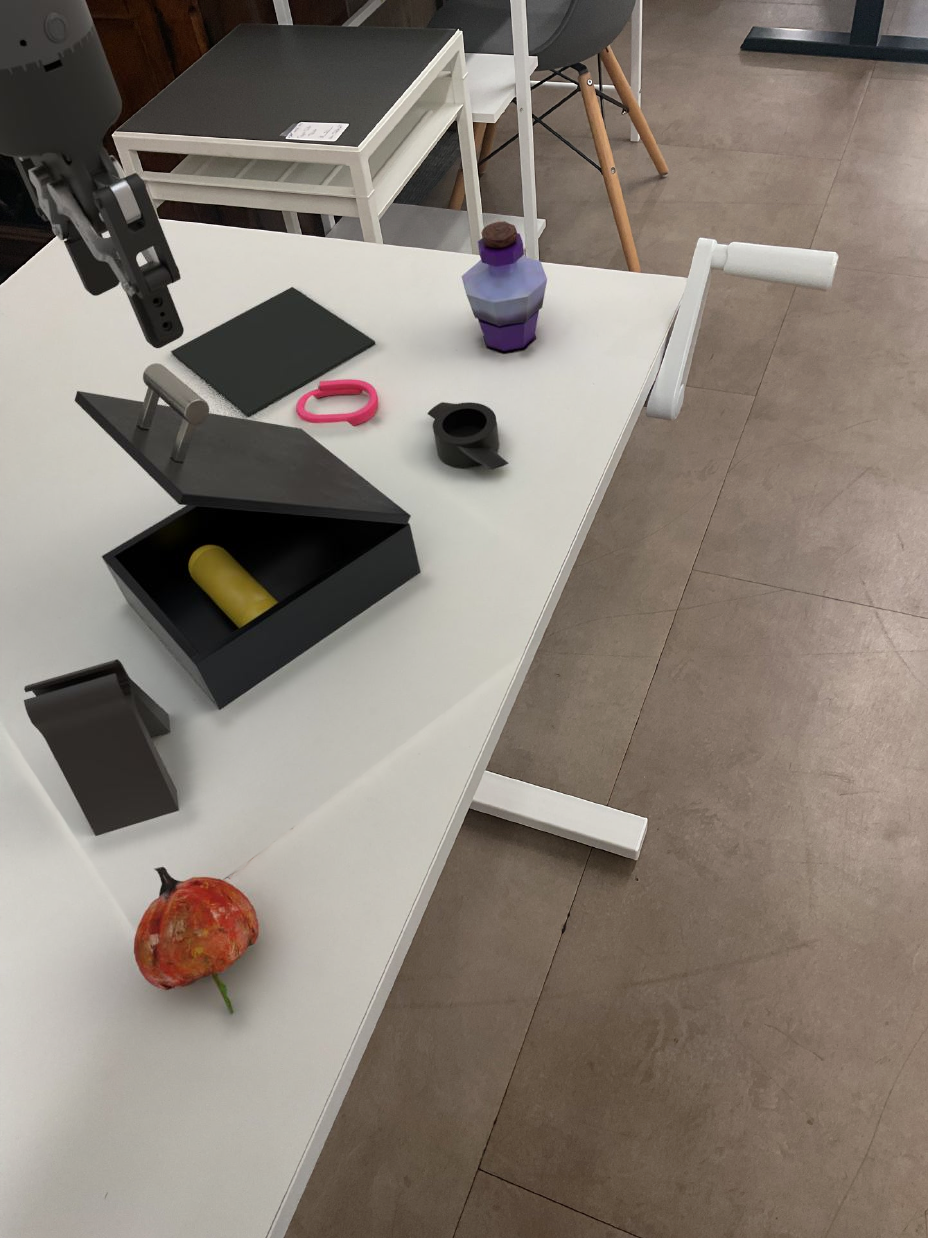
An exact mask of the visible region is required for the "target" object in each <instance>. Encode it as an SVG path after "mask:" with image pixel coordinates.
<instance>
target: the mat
mask: <svg viewBox="0 0 928 1238" xmlns="http://www.w3.org/2000/svg"><path fill="white" fill-rule="evenodd" d="M375 345H376V341H375V340H374V339H373V338H371V337H370V336H369V335H366V334H365V333H364V332H362V331H361V330H359V329H357V328H356V327H355V326H353V325H351V324H350V323H348V322H346V321H345V320H344V319H342V318H340V317H339V316H337V314H335V313H333V312H331V311H330V310H329V309H327V308H326V307H324V306H322V305H321V304H319V303H318V302H316V301H315V300H313V299H312V298H310V297H309V296H307V295H306V294H304V293H303V292H301V291H300V290H298V289H297V288H295V287H293V286H291V287H289V288H287V289H285V290H283V291H281V292H280V293H278V294H276V295H274V296H272V297H270V298H268V299H267V300H265V301H263V302H261V303H259V304H256V305H255V306H253V307H251V308H250V309H248V310H246V311H244V312H242V313H239V314H238V315H237V316H234V317H233V318H231V319H229V320H227V321H225V322H224V323H221V324H219V325H217V326H216V327H214V328H212V329H210V330H208V331H206V332H204V333H202V334H201V335H199V336H197V337H194V338H193V339H191V340H189V341H187V342H186V343H184V344H182V345H180V346H178V347H176V348H175V349H172V350H171V351H170V352H171V355H173V356H174V357H175V358H176V359H177V360H178V361H180V362H181V363H182V364H183V365H185V366H186V367H187V368H188V369H190V371H192V372H193V373H194V374H196V376H198V377H199V378H200V379H201V380H203V381H204V382H205V383H206V384H208V385H209V386H210V387H211V388H212V389H214V390H215V391H216V392H218V394H220V395H221V396H222V397H223V398H225V399H226V400H227V401H228V402H229V403H230V404H232V406H234V407H235V408H237V409H238V410H239V411H240V412H241V413H243V415H245V416H247V417H248V418H250V417H251V416H254V414H257V413H258V412H261V411H262V410H264V409H265V408H267V407H269V406H270V405H272V404H274V403H276V402H278V401H279V400H281V399H282V398H284V397H286V396H288V395H290V394H292V393H294V392H295V391H296V390H298V389H300V388H302V387H303V386H305V385H307V384H309V383H310V382H312V381H314V380H317V379H318V378H320V377H321V376H322V375H324V374H326V373H328V372H330V371H332V370H333V369H335V368H337V367H339V366H340V365H342V364H344V363H345V362H347V361H349V360H351V359H352V358H354V357H355V356H358V355H360V354H361V353H363V352H364V351H366V350H368V349H370V348H371V347H373V346H375Z"/></svg>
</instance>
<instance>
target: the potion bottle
mask: <svg viewBox="0 0 928 1238" xmlns="http://www.w3.org/2000/svg"><path fill="white" fill-rule="evenodd" d="M477 246H478V253H479V257H480V260H479V261H477V263H475V264H474V265H473V266H472V267H471V268H469V269H468V270H467V271H466V272H464V273H463V274H462V275H461V276H460V277H461V280H462V284H463V287H464V288H463V289H464V291H465V295H466V297H467V301H468V303H469V306H470V308H471V311H472V314H473V316H474V319H477V322H478V324H479V327H480V329H481V333H482V335H483V336H482V337H483V341H484V344H485V348H486V349H487V350H490V351H493V352H497V353H499V354H503V355H506V354H510V353H511V354H512V353H517V352H521V351H526V350H527V349H528V347H530V346H531V345H532V344H533V343H534V342H535V341H536V340H537V335H536V331H537V324H538V318H539V313H540V310H541V309H543V307H544V306H543V305H544V300H545V294H546V288H547V282H548V277H547V274H546V272H545V269H544V267H543V264H542V262H541V260H537V259H534V258H530V257H526V256H524V255H525V251H524V241H523V239H522V237H521V233H519V232H517V227H516V226H515V224H511V223H509V222H507V221H496V222H492V223H490V224H487V225H486V226H484V228H482V230H481V238H480V239H479V240H478V241H477Z"/></svg>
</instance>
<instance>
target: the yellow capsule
mask: <svg viewBox="0 0 928 1238" xmlns="http://www.w3.org/2000/svg"><path fill="white" fill-rule="evenodd" d="M189 572H190V575H191V577H192V578H193V580H194V581H195V582H196V583H197V584H198V585H199V586H200V587H201V588H202V589H203V591H204V592H205V593H206V594H207V595H208V596H209V597H210V598H211V599H212V600H213V601H214V602H215V603H216V604H217V605H218V606H219V608H220V609H221V610H222V611H223V612H224V613H225V614H226V615H227V616H228V617H229V618H230V619H231V620H232V621H233V622H234V623H235V625H236V626H237V627H238V628H241V627H242V626H244V625H245V624H247V623H248V622H250V621H251V620H253V619H254V618H256V617H257V616H259V615H260V614H262V613H263V612H265V611H266V610H268V609H269V608H271V607H272V606H274V605H276V604H277V603H278V602H277V601H276V600H275V599H274V598H273V597H272V596H271V595H270V594H269V593H268V592H267V591H266V590H265V589H264V588H263V587H262V586H261V585H260V584H259V583H258V582H257V581H256V580H255V579H254V578H253V577H252V576H251V575H250V574H249V573H248V572H247V571H246V570H245V569H244V568H243V567H242V566H241V565H240V564H239V563H238V562H237V561H236V560H235V559H234V558H233V557H232V556H231V555H230V554H229V553H228V552H227V551H226V550H224V549H223V548H221V547H219V546H216V545H205V546H202V547H200V548H198V549H197V550H195V551H194V553H193V554H192V555H191V557H190V560H189Z"/></svg>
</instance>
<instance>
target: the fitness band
mask: <svg viewBox="0 0 928 1238" xmlns="http://www.w3.org/2000/svg"><path fill="white" fill-rule="evenodd" d="M363 392H365V393H366V394H368V396H369V400H368V402H367V403H366V405H364V406H363V407H362V408H360V409H358V410H355V411H352V412H346V413H327V414H314V413H311V412H309V411H307V410H306V409H305V406H306V402H307V401H308V399H310V398H311V397H314V398H315V399H318V398H322V397H327V396H338V395H361V394H362V393H363ZM295 406H296V408H295V409H296V413H297V416H298V417H299V418H300V419H302V420H303V421H305V422H306V423H307V422H308V423H312V424H327V423H329V424H330V423H331V424H332V423H342V422H347V423H348V424H349V425H351V426H357V425H360V424H363V423H365V422H367V421H369V420H370V419H371V418H372V417H374V415H375V414H376V412H377V410H378V407H379V396H378V393H377V390H376V388H375V387H374V386H373V385H372V384H371V383H369V382H367V381H365V380H362V379H361V380H360V379H352V378H346V379H345V378H344V379H330V380H329V379H328V380H320V381H318V382H317V388H316V389H312V390H310V391H308V392H306V393H304V394H303V395H302V396H301V397H300V398H299V399H298V401H297V403H296V405H295Z"/></svg>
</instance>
